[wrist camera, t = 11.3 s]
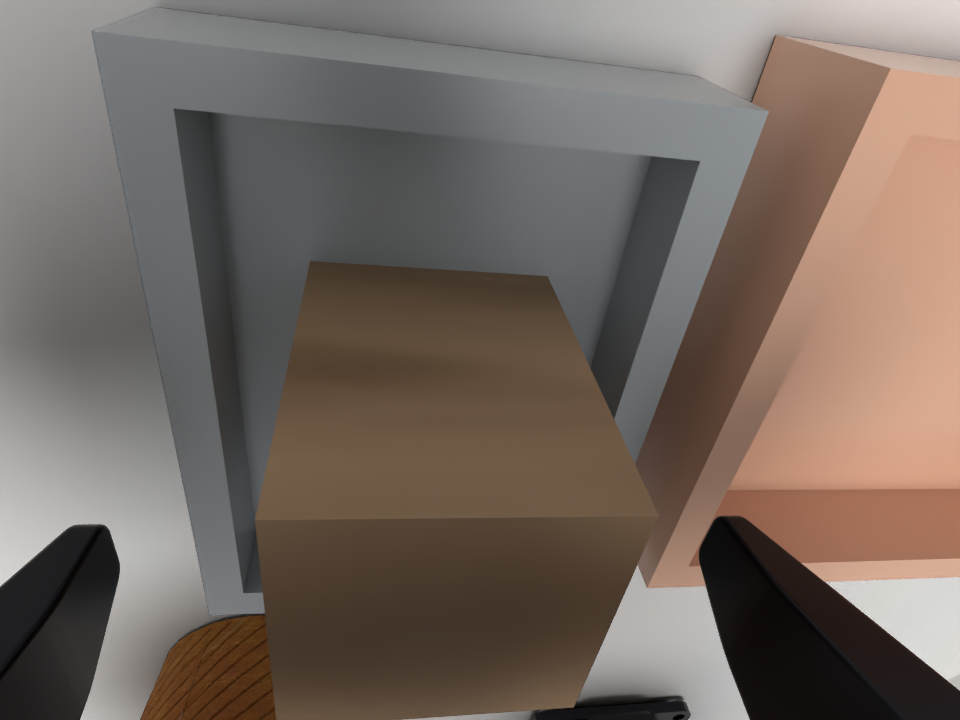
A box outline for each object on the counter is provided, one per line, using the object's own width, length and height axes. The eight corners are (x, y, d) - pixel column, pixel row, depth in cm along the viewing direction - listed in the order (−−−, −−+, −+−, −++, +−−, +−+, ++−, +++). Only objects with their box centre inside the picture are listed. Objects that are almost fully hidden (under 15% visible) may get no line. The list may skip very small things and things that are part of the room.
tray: (560, 523, 18) (583, 601, 16) (231, 528, 16) (209, 615, 14) (697, 76, 11) (768, 111, 9) (154, 7, 9) (91, 31, 7)
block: (509, 445, 15) (573, 707, 10) (314, 443, 14) (276, 728, 9) (547, 276, 12) (658, 516, 7) (310, 261, 11) (254, 520, 6)
